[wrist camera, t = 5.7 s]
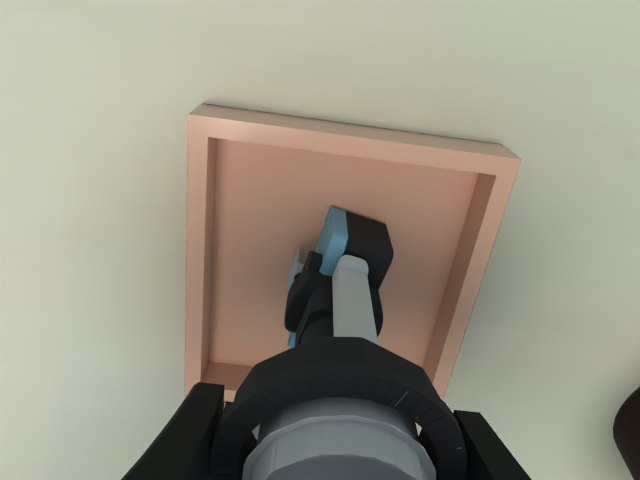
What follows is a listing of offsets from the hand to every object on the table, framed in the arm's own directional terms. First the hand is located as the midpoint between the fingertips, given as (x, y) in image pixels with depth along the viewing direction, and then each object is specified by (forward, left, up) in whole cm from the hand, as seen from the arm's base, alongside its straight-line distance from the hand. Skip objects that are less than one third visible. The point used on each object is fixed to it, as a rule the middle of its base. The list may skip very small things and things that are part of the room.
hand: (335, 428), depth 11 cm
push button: (0, 0, -8) cm, 8 cm away
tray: (0, 0, -8) cm, 8 cm away
